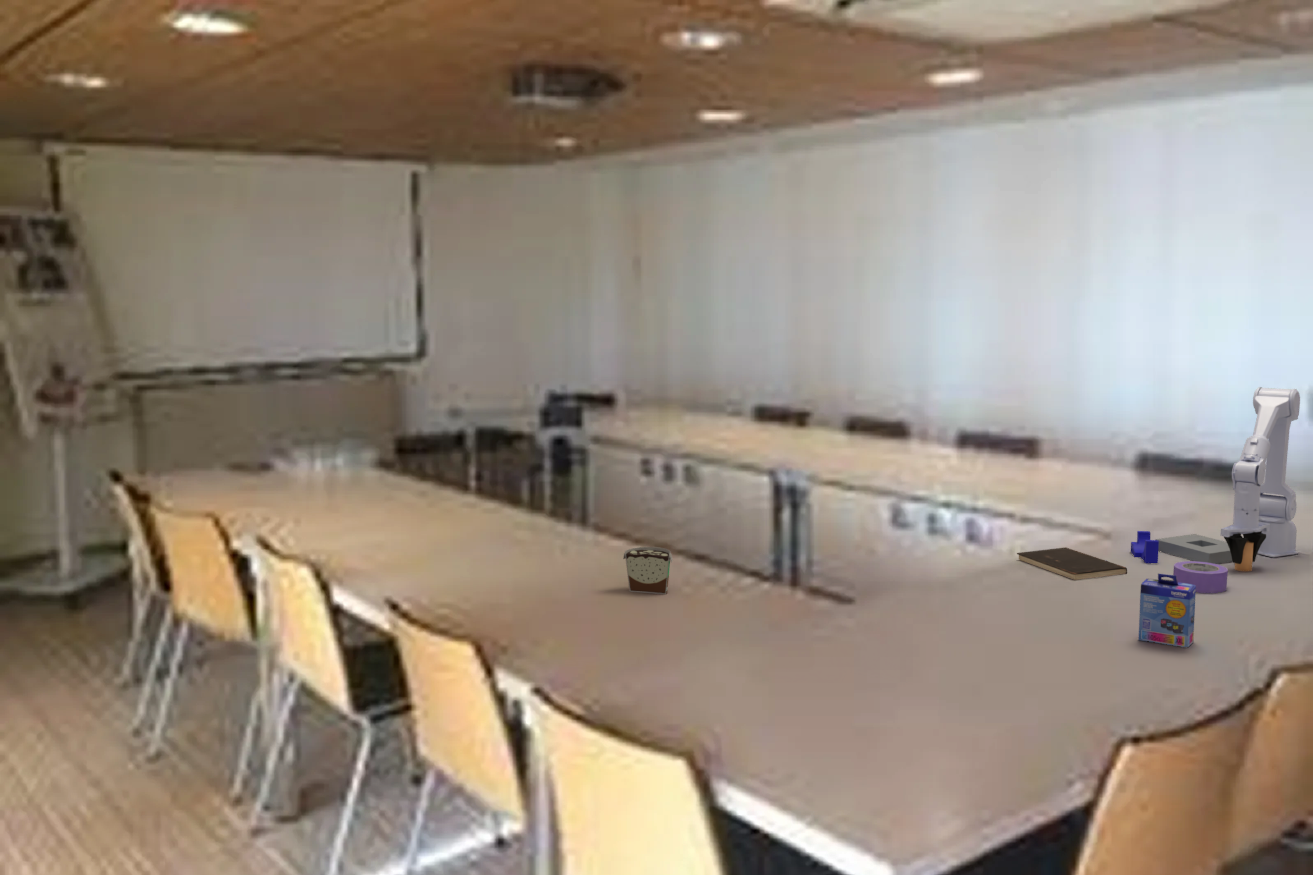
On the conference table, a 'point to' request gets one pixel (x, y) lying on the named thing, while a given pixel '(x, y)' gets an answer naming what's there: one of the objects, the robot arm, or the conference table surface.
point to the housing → (1196, 548)
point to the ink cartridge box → (1167, 611)
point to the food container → (648, 569)
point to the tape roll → (1202, 576)
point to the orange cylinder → (1246, 558)
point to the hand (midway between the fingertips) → (1243, 562)
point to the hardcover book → (1071, 563)
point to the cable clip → (1145, 547)
